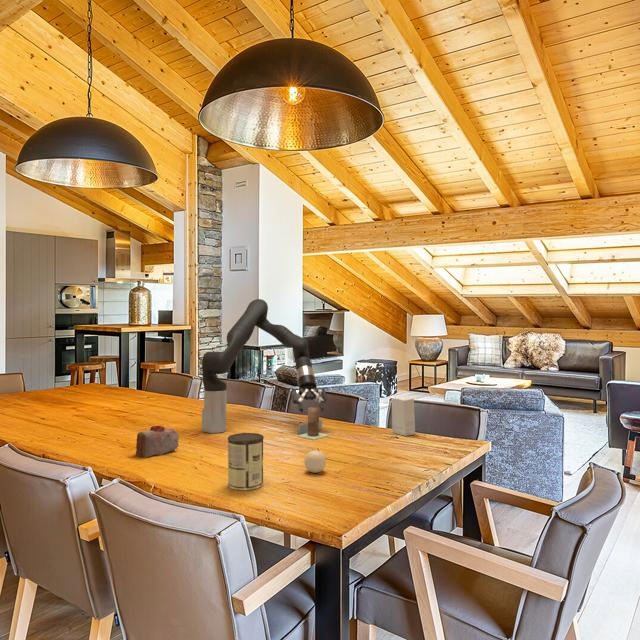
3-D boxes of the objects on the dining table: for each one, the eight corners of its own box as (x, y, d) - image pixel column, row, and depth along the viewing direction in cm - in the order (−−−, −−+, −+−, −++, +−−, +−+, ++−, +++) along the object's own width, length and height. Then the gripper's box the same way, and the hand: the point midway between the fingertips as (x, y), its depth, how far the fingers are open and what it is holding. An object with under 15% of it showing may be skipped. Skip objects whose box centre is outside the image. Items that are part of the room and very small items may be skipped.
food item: (167, 447, 200) (167, 421, 199) (180, 451, 195) (180, 424, 194) (133, 455, 189) (133, 427, 189) (146, 459, 184) (146, 430, 184)
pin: (312, 436, 216) (312, 409, 216) (305, 434, 220) (305, 407, 220) (321, 435, 219) (321, 408, 219) (313, 433, 223) (314, 406, 223)
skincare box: (415, 434, 223) (415, 398, 223) (404, 436, 220) (404, 399, 220) (401, 430, 230) (401, 396, 230) (390, 432, 227) (391, 397, 227)
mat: (313, 440, 213) (313, 439, 213) (296, 436, 219) (296, 435, 219) (329, 435, 221) (329, 434, 221) (312, 432, 226) (312, 431, 226)
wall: (300, 434, 222) (300, 425, 221) (297, 434, 222) (297, 424, 222) (321, 429, 232) (321, 420, 232) (319, 428, 233) (319, 419, 233)
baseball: (325, 468, 174) (325, 447, 174) (326, 475, 167) (326, 453, 167) (304, 468, 174) (304, 447, 174) (304, 475, 167) (304, 453, 167)
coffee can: (237, 478, 164) (238, 431, 164) (269, 481, 161) (269, 434, 160) (220, 488, 154) (221, 438, 154) (253, 492, 151) (253, 442, 151)
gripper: (320, 383, 239) (327, 415, 228) (288, 384, 235) (293, 416, 224) (323, 373, 233) (330, 405, 223) (291, 374, 230) (296, 406, 219)
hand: (312, 410), depth 223 cm, fingers open, 8 cm apart
